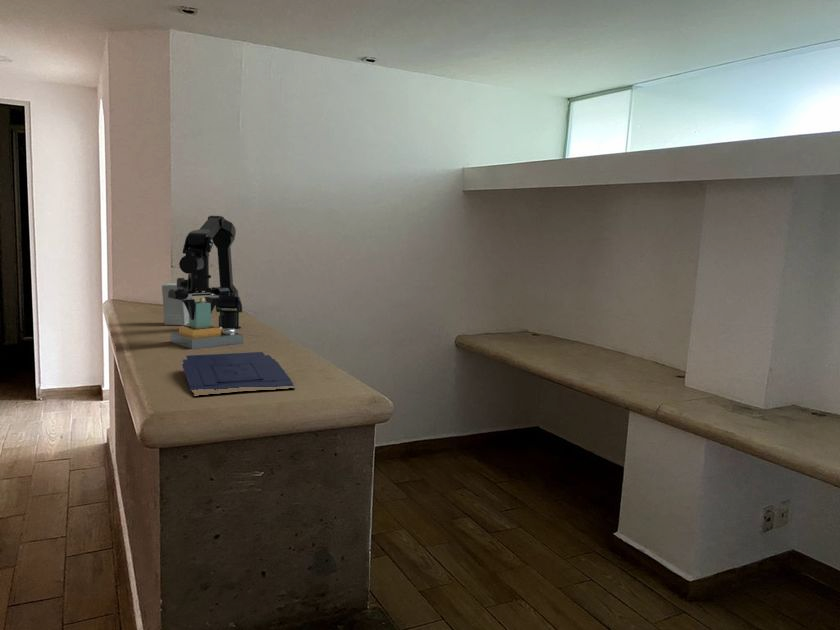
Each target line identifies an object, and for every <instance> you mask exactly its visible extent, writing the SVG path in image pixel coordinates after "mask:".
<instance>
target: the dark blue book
mask: <svg viewBox="0 0 840 630" xmlns="http://www.w3.org/2000/svg"><path fill="white" fill-rule="evenodd" d="M182 369H183V372H184V375H185V378H186V380H187V384H188V387H189V390H190V391H191V390H195V389H196V390H198V389H204V390H205V389H214V390H216V389H217V390H218V389H228V388H239V387H278V386H279V387H280V386H281V387H282V386H294V387H295V385H294V383H293V382H292V379H291V378H290V377H289V376H288V374H287V373H286V371H285V370H284V369H283V368H282V366H281V365H280V363H279V362H278V361H277V360H275V358H273V357H272V356H271V355H269V354H268V355H267V354H265V353H264V352H263V351H253V352H251V351H250V352H237V353H218V354H216V353H215V354H214V353H213V354H212V353H211V354H193V355H186V359H182Z"/></svg>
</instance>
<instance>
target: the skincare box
mask: <svg viewBox="0 0 840 630" xmlns="http://www.w3.org/2000/svg"><path fill="white" fill-rule="evenodd" d="M170 289H178V288H177V282H176V283H175V282H174V283H172V282H169V283H164V284H162V285H161V292H162V293H161V294H162V306H163V320H164V322H163V323H164V325H165V326H187V325H189V313H188V310H187V308H186V306H185V304H184V303H183V301H181V300H179V299H172V298H168V292H169V290H170ZM179 289H183V288H179Z"/></svg>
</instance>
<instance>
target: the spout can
mask: <svg viewBox="0 0 840 630" xmlns="http://www.w3.org/2000/svg"><path fill="white" fill-rule="evenodd" d="M188 325H189V327H193V328H196V329H197V328H208V327H211V325H212V313H211V303H208V302H206V301H205V297H202V298H201V297H200V298H199V301H195V309H194V320H191V318H190V316H189V324H188Z"/></svg>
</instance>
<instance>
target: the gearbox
mask: <svg viewBox="0 0 840 630" xmlns="http://www.w3.org/2000/svg"><path fill="white" fill-rule="evenodd" d="M178 327H179V328H178V332H176V331H175V332H170V343H173V344H175V345H179V346H182V347H185V348H188V349H189V350H190V349H191V350H195V349H206V348H213V347H214V348H215V347H222V346H231V345H241V344H244V334H243V333H241V332H236V331H237V330H236V329H237V328H235V329H234V328H222V327H220V326H219V325H217V326H216V325H212V324H211V327H208V328H197V329H196V328H193V327H189V324H187V325H178Z"/></svg>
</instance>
